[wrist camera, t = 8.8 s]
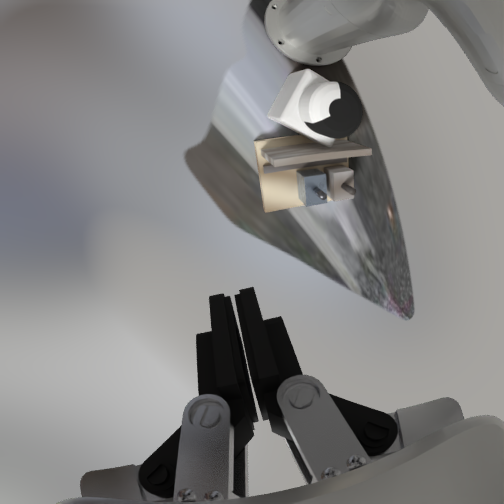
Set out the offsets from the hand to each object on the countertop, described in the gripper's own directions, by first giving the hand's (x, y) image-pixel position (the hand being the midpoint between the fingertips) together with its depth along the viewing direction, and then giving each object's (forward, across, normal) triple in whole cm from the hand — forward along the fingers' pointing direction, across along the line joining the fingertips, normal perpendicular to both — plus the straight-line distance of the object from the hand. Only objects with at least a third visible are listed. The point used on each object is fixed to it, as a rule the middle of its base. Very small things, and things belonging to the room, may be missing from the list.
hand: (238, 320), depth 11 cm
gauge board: (+29, -12, +3) cm, 32 cm away
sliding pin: (+28, -12, +5) cm, 31 cm away
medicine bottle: (+30, -13, -6) cm, 33 cm away
